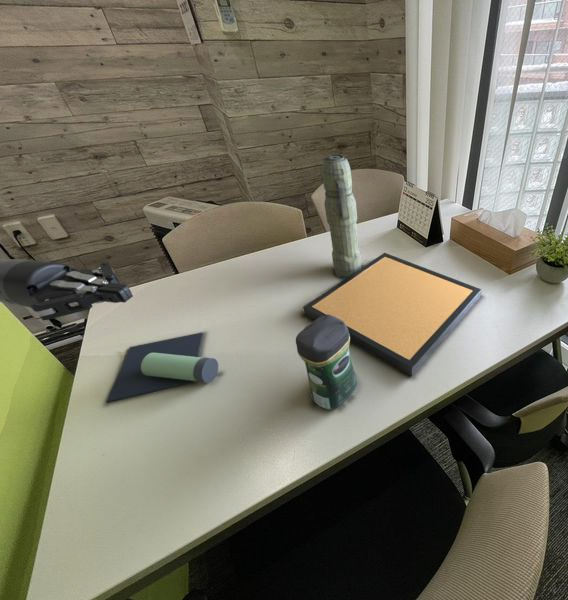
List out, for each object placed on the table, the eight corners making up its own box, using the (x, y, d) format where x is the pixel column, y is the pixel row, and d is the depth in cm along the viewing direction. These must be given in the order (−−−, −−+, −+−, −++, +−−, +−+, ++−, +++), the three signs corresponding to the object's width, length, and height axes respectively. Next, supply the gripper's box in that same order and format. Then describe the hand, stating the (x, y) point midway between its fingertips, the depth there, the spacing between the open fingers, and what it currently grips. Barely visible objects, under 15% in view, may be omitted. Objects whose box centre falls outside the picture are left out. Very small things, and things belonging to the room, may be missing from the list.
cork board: (411, 376, 72) (480, 297, 94) (412, 368, 70) (481, 289, 92) (304, 314, 88) (384, 259, 111) (302, 306, 87) (384, 252, 109)
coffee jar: (336, 368, 74) (323, 305, 62) (363, 383, 71) (355, 320, 59) (304, 398, 68) (284, 335, 56) (333, 417, 64) (317, 354, 53)
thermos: (342, 283, 100) (325, 165, 78) (329, 265, 108) (311, 153, 86) (368, 275, 103) (359, 160, 81) (354, 258, 111) (342, 149, 89)
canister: (144, 381, 70) (204, 387, 68) (137, 360, 68) (199, 367, 66) (163, 367, 74) (220, 373, 73) (157, 347, 72) (216, 353, 71)
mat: (107, 403, 67) (106, 401, 67) (131, 348, 79) (129, 347, 78) (193, 382, 71) (192, 381, 70) (203, 333, 83) (202, 332, 82)
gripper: (-37, 289, 45) (70, 301, 42) (57, 243, 55) (147, 251, 53) (4, 328, 49) (103, 342, 47) (84, 279, 60) (168, 288, 57)
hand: (126, 294), depth 50 cm, fingers closed
